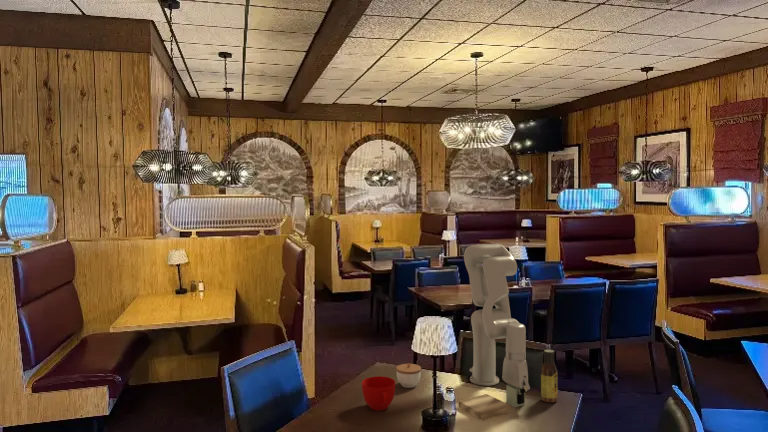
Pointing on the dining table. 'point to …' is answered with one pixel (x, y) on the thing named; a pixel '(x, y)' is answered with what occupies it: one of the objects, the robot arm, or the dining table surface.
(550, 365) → the sauce bottle
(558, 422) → the dining table surface
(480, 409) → the riser block
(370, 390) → the ceramic cup
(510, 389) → the green block
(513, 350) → the robot arm
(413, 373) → the lidded jar
